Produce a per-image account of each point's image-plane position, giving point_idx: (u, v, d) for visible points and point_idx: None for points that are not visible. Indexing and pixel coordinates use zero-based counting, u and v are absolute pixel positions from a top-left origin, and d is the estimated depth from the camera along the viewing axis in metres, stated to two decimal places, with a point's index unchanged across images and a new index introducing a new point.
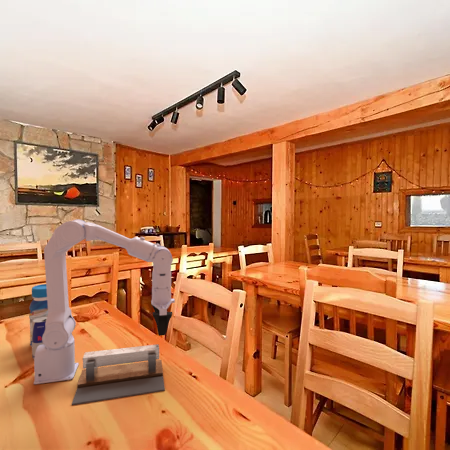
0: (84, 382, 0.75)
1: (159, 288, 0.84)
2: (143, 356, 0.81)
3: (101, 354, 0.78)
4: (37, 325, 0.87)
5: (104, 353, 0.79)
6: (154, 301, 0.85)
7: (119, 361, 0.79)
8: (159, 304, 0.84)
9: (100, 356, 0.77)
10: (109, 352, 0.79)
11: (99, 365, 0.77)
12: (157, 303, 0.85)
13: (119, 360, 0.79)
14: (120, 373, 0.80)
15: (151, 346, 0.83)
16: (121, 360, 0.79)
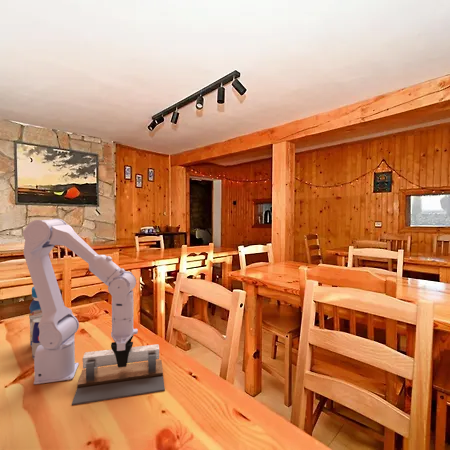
0: (84, 382, 0.75)
1: (118, 319, 0.77)
2: (143, 356, 0.81)
3: (101, 354, 0.78)
4: (37, 325, 0.87)
5: (104, 353, 0.79)
6: (113, 333, 0.78)
7: None
8: (119, 337, 0.77)
9: (100, 356, 0.77)
10: (109, 352, 0.79)
11: (99, 365, 0.77)
12: (116, 335, 0.77)
13: None
14: (120, 373, 0.80)
15: (151, 346, 0.83)
16: None
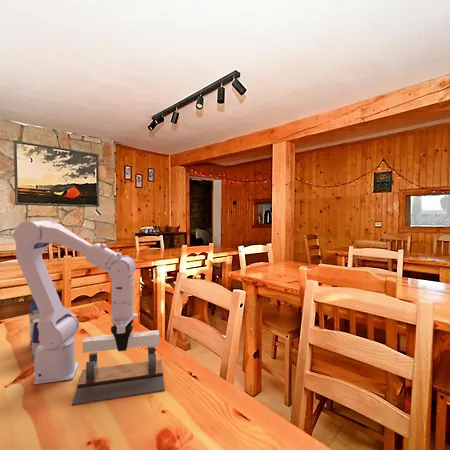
0: (84, 382, 0.75)
1: (118, 303, 0.77)
2: (143, 341, 0.80)
3: (101, 338, 0.78)
4: None
5: (104, 338, 0.78)
6: (113, 317, 0.77)
7: None
8: (118, 320, 0.77)
9: (101, 341, 0.77)
10: (109, 336, 0.79)
11: (99, 349, 0.77)
12: (116, 319, 0.77)
13: None
14: (120, 373, 0.80)
15: (151, 332, 0.83)
16: None
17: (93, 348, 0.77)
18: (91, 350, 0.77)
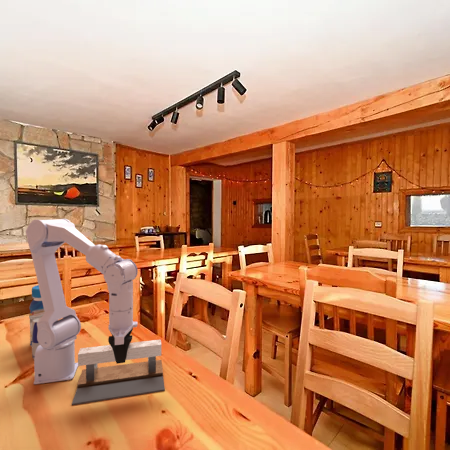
0: (84, 382, 0.75)
1: (117, 311, 0.70)
2: (144, 352, 0.74)
3: (98, 350, 0.71)
4: None
5: (101, 349, 0.72)
6: (111, 326, 0.71)
7: None
8: (117, 330, 0.70)
9: (97, 353, 0.71)
10: (107, 347, 0.73)
11: (96, 362, 0.71)
12: (114, 328, 0.70)
13: None
14: (120, 373, 0.80)
15: (153, 341, 0.76)
16: None
17: (89, 361, 0.70)
18: (87, 362, 0.70)
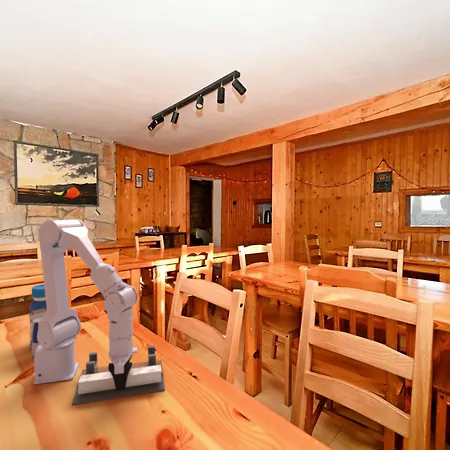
0: None
1: (116, 338, 0.70)
2: (144, 379, 0.74)
3: (98, 378, 0.72)
4: (37, 325, 0.87)
5: (101, 376, 0.72)
6: (111, 353, 0.71)
7: None
8: (116, 357, 0.71)
9: (97, 380, 0.71)
10: (107, 375, 0.73)
11: (96, 390, 0.71)
12: (114, 356, 0.71)
13: None
14: None
15: (152, 367, 0.77)
16: None
17: (89, 389, 0.71)
18: (87, 390, 0.70)
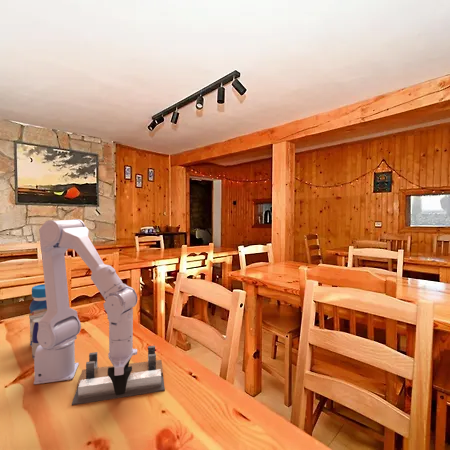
0: None
1: (116, 340, 0.70)
2: (144, 384, 0.74)
3: (98, 382, 0.72)
4: (37, 325, 0.87)
5: (101, 381, 0.72)
6: (111, 355, 0.71)
7: None
8: (116, 359, 0.71)
9: (97, 385, 0.71)
10: (107, 379, 0.73)
11: (96, 394, 0.71)
12: (114, 357, 0.71)
13: None
14: None
15: (152, 372, 0.77)
16: None
17: (89, 393, 0.71)
18: (87, 395, 0.71)
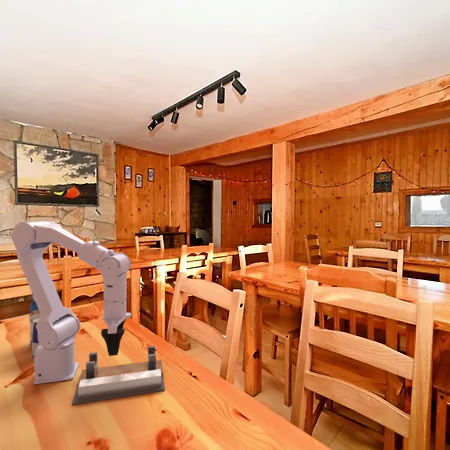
0: None
1: (110, 301, 0.74)
2: (144, 384, 0.74)
3: (98, 382, 0.72)
4: None
5: (101, 381, 0.72)
6: (105, 316, 0.74)
7: (117, 390, 0.73)
8: (110, 320, 0.74)
9: (97, 385, 0.71)
10: (107, 379, 0.73)
11: (96, 394, 0.71)
12: (108, 318, 0.74)
13: (118, 388, 0.73)
14: (120, 373, 0.80)
15: (152, 372, 0.77)
16: (120, 388, 0.73)
17: (89, 393, 0.71)
18: (87, 395, 0.71)
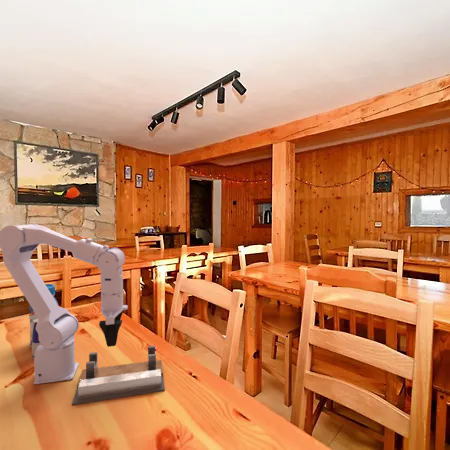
0: None
1: (107, 294, 0.76)
2: (144, 384, 0.74)
3: (98, 382, 0.72)
4: None
5: (101, 381, 0.72)
6: (103, 308, 0.77)
7: (117, 390, 0.73)
8: (108, 312, 0.77)
9: (97, 385, 0.71)
10: (107, 379, 0.73)
11: (96, 394, 0.71)
12: (106, 311, 0.77)
13: (118, 388, 0.73)
14: (120, 373, 0.80)
15: (152, 372, 0.77)
16: (120, 388, 0.73)
17: (89, 393, 0.71)
18: (87, 395, 0.71)
